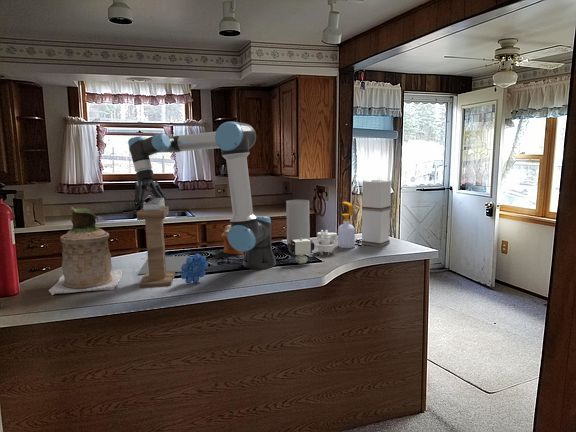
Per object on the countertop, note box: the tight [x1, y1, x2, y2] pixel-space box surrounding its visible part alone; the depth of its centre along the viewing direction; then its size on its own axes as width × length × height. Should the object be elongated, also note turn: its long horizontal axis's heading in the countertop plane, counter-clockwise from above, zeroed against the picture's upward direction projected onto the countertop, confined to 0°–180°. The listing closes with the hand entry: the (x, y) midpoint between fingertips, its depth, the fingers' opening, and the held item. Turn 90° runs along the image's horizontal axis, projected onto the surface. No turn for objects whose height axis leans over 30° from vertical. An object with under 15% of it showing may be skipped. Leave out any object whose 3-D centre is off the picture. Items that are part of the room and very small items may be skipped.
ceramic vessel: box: [220, 224, 246, 256], centre depth 224 cm, size 14×26×15 cm, turn 152°
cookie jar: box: [48, 207, 123, 296], centre depth 170 cm, size 25×25×32 cm
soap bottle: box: [337, 200, 356, 249], centre depth 227 cm, size 9×9×25 cm
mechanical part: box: [314, 229, 338, 256], centre depth 214 cm, size 11×12×12 cm
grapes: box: [180, 253, 209, 284], centre depth 171 cm, size 12×7×12 cm, turn 124°
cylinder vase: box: [285, 199, 311, 247], centre depth 230 cm, size 12×12×25 cm
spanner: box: [143, 197, 165, 211], centre depth 176 cm, size 22×6×2 cm, turn 9°
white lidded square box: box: [361, 179, 392, 248], centre depth 232 cm, size 11×11×35 cm
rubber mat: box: [137, 255, 191, 276], centre depth 198 cm, size 28×20×1 cm
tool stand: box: [136, 205, 176, 288], centre depth 172 cm, size 16×12×30 cm
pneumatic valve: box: [287, 238, 316, 265], centre depth 197 cm, size 6×12×12 cm, turn 109°
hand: (155, 216), depth 192 cm, fingers open, 13 cm apart
